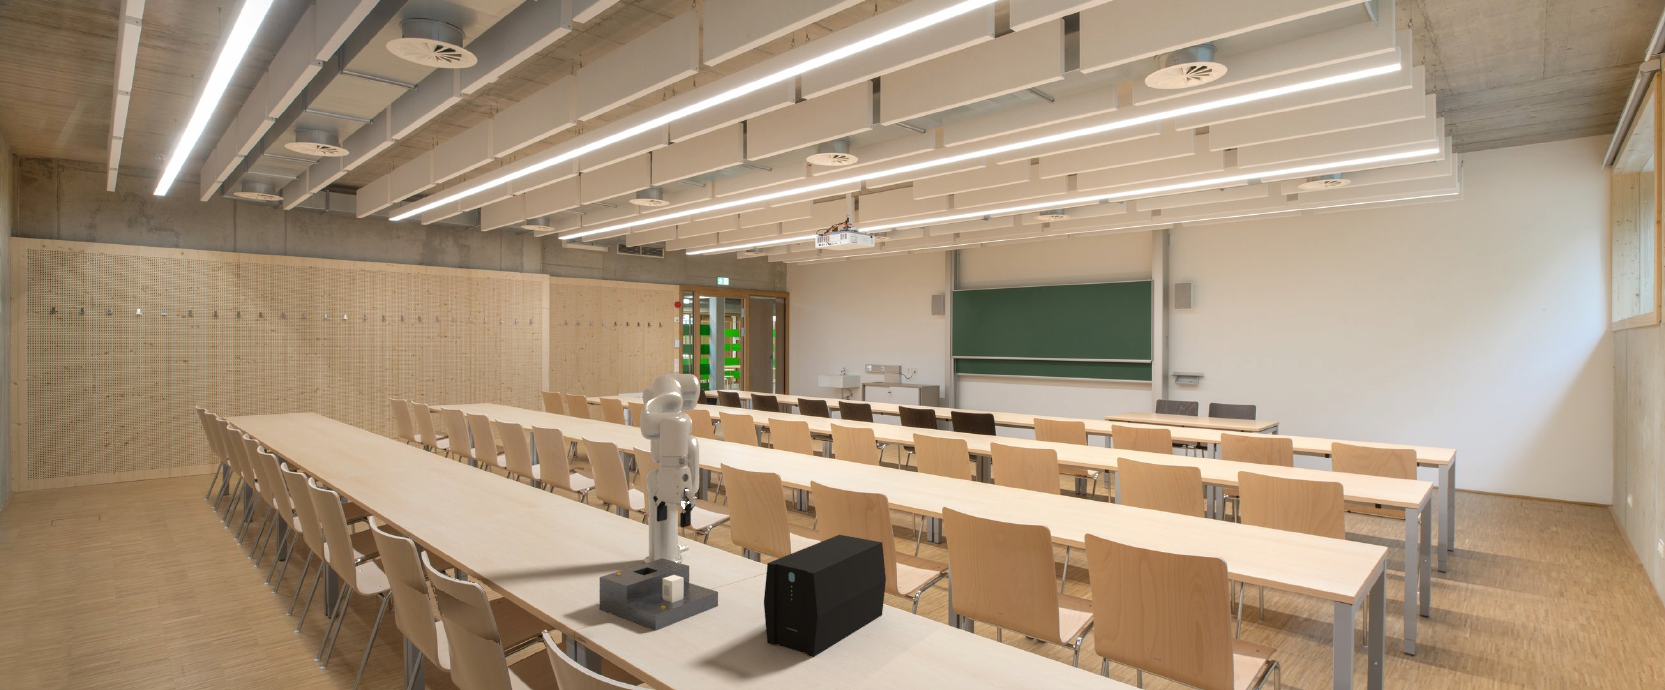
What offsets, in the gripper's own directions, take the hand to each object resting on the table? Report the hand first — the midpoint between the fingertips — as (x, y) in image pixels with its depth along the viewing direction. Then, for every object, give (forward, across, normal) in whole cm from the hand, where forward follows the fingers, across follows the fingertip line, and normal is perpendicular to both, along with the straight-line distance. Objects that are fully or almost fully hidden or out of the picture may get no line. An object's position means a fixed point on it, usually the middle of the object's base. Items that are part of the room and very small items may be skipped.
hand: (673, 523), depth 201 cm
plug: (+23, 0, 0) cm, 23 cm away
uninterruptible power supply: (+24, -40, -18) cm, 51 cm away
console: (+24, +6, 0) cm, 25 cm away
